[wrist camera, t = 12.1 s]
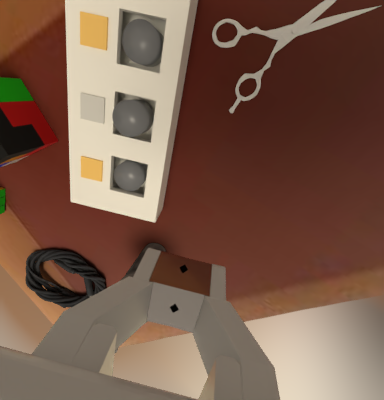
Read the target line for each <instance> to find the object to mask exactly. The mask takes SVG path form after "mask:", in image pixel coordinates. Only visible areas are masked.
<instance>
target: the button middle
mask: <svg viewBox="0 0 384 400" xmlns="http://www.w3.org/2000/svg"><path fill="white" fill-rule="evenodd" d="M112 118H113V123H114V125H115V127H116V129H117V130H118V131H119V132H120V133H121V134H123V135H125V136H128V137H135V136H138V135H140V134H142V133H144V132H146V131H148V130H149V129H150V128H151V127H152V125H153V121H154V114H153V111H152V109H151V107H150V106H149V104H147V103H146V102H145V101H143V100H139V99H133V100H123V101H121V102H119V103H118V104H117V105H116V106H115V108H114V110H113V114H112Z"/></svg>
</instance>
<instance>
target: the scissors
mask: <svg viewBox="0 0 384 400" xmlns="http://www.w3.org/2000/svg"><path fill="white" fill-rule="evenodd" d="M335 1H336V0H325V1H323V2H322V3H320V4H319V5H318V6H316V7H315V8H314V9H312V10H311V11H310V12H308V13H307V14H306V15H304V16H303V17H302V18H300V19H299V20H298V21H296V22H295V23H294V24H292V25H287V26H284V27H281V28H278V29H273V30H268V31H263V30H260V29H259V28H258V27H255V28H252V29H250V30H246V29H245V28H244V27H242V26H241V25H240V24H239V23H238V22H237V21H235V20H232V19H223V20H221V21H220V22H218V23H217V24H216V25H215V27H214V29H213V32H212V38H213V41H214V43H215V44H216V45H218V46H219V47H223V48H230V47H234V46H235V45H236V43H237V42H238V40H239V39H240V37H241V36H245V35H247V34H250V33H255V34H260V35H264V36H267V37H269V38H271V39H275V40H278V41H277V43H276V45H275V47H274V49H273V51H272V53H271V55H270V57H269V60H268V61H267V63H266V65H265V66H264V67H263V68H262V69H261V70H260V71H258V72H256V73H255V74H246V73H245V74H244V75H243V76H242V77H241V78H240V79H239V81H238V83H237V85H236V89H235V90H236V95H237V100H236V102H235V103H234V105H233V106H232V107H231V108H230V109H229V112H230V113H233V112H234V110H235V108H236V106H237V105H238V104H239V102H240V101H241V100H242V101H247V100H251V99H252V98H253V97H255V96H256V95H257V94H258V92H259V89H260V86H261V77H262V74H263V72H264V70H266V69H268V68H269V67H270V65H271V60H272V58H273V56H274V54H275V53H276V52H277V51H279V50H280V49H281V48H283V47H284V46H285V45H286V44H288V43H289V42H290V41H291V40H292V39H294V38H295V37H296V36H299V35H302V34H305V33H308V32H311V31H315V30H318V29H321V28H324V27H327V26H330V25H332V24H335V23H338V22H340V21H343V20H346V19H348V18H351V17H354V16H357V15H360V14H362V13H365V12H368V11H370V10H373V9H375V8H377V7H380V6H377V7H372V8H367V9H362V10H357V11H353V12H348V13H343V14H339V15H335V16H332V17H328V18H324V19H321V20H319V21H317V22H314V23H312V22H313V21H314V20H315V19H316V18H317V17H319V16H320V15H321V14H322V13H323V12H324V11H325V10H326V9H327V8H329V7H330V6H331V5H332V4H333V3H334V2H335ZM226 22H227V23H230V24H233V25H235V26H236V29H237V31H238V32H237V36H236V37H235V38H234V40H232V41H229V42H226V43H223V42H219V41H218V40H217V37H216V31H217V29H218V27H219V26H220V25H222V24H224V23H226ZM311 23H312V24H311ZM248 78H253V79H255V80H256V83H257V87H256V90H255V91H254V93H253V94H251V95H250V96H247V97H243V96H241V95H240V93H239V86H240V84H241V83H242V82H243V81H244V80H246V79H248Z"/></svg>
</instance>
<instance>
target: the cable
mask: <svg viewBox="0 0 384 400" xmlns="http://www.w3.org/2000/svg"><path fill="white" fill-rule="evenodd" d="M37 260H38V261H37ZM48 260H54V262H55V263H56V264H58V265H59V266H61V267H62V268H64V269H65V270H66V271H68V272H69V273H73V274H74V273H77V274H79V275H80V276H82V277H83V278H84V282H85V286H86V291H87V295H86V296H78V295H77V294H75V293H74V292H72V291H70V290H69V289H67V288H65V289H64V288H61V287H59V286H57V285H56V284H54V283H52V282H50V281H47V280H45V279H43V278H42V275H41V273H40V268H39V266H40V263H42V262H45V261H48ZM36 261H37V262H36ZM35 262H36V263H35ZM92 281H93V282H94V283H95V289H94V290H93V285H92ZM48 283H49V284H51V285H53V286H55V287H52V286H50V285H49V284H48ZM104 283H105V279H104V278H102V277H100V275H99V274H98V272H97V271H96V269H94V268H93V267H90V266H89V265H88V264H87V263H86V262H85V261H84V260H83V258H82V257H80V256H79V255H77V254H75V253H73V252H68V251H63V250H45V251H43V250H40V251H36V252H33V253H32V254H31V255H30V256H29V257H28V258H27V261H26V284H27V286H28V287H29V288H30V289H31V290H33V291H35V293H36V294H37V295H38V296H39V297H40V298H41V299H43V300H45V301H49V302H53V303H55V304H58V305H60V306H62V307H63V308H66V307H73V306H75V305H77V304H79V303H81V302H82V301H84V300H86V299H88V298H90V297H92V296H93V295H95V294H97V293H99V292H101V291H103V290H104V289H105V284H104ZM42 285H43V286H44V287H45V289H44V288H43V287H42ZM46 289H47V290H46Z"/></svg>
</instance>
